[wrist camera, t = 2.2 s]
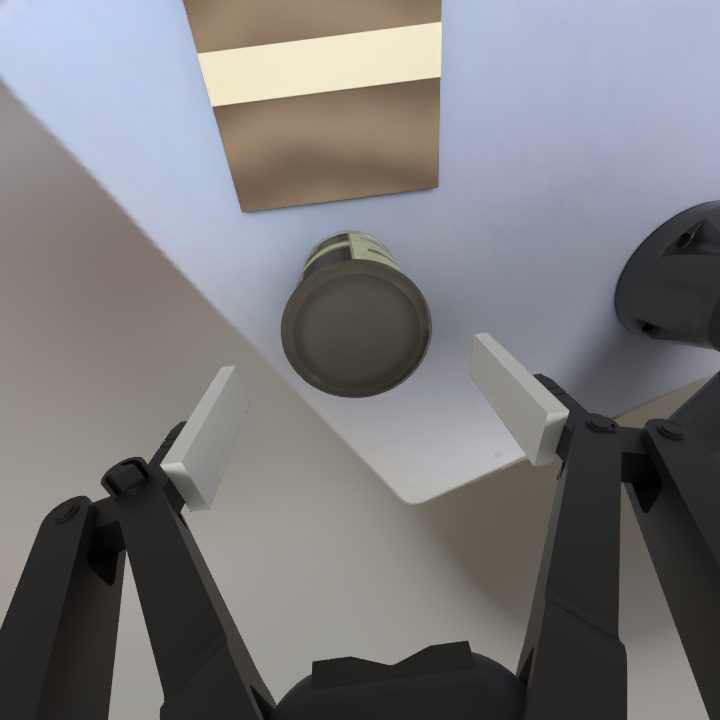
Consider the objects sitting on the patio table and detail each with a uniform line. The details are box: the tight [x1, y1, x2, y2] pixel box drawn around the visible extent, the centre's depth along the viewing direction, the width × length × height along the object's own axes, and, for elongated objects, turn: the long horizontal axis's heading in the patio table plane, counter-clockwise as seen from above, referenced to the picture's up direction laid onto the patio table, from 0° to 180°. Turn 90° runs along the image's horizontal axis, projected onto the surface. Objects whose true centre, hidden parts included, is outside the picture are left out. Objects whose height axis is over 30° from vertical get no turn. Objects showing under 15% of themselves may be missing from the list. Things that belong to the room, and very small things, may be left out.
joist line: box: [197, 22, 442, 107], centre depth 23 cm, size 3×18×1 cm, turn 96°
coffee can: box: [281, 231, 432, 398], centre depth 27 cm, size 10×10×14 cm
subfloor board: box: [183, 0, 442, 213], centre depth 24 cm, size 16×18×2 cm
